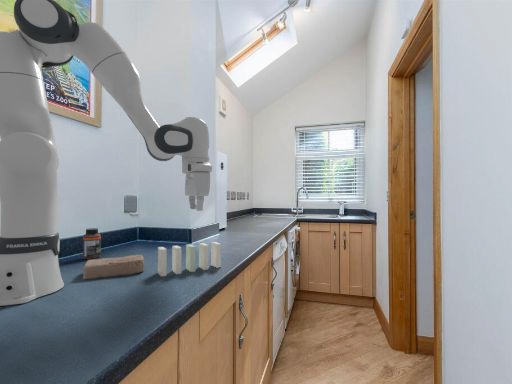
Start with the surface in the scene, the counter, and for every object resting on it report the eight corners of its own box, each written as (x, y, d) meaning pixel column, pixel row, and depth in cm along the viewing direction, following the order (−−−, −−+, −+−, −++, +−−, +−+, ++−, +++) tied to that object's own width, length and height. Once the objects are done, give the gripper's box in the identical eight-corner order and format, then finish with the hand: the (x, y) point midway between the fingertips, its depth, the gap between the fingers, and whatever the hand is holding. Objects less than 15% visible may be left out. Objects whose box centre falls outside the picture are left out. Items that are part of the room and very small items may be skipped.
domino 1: (161, 276, 81) (161, 249, 82) (157, 272, 85) (157, 247, 85) (166, 275, 82) (166, 249, 82) (162, 272, 86) (163, 246, 86)
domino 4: (216, 268, 91) (216, 244, 91) (211, 265, 95) (211, 242, 95) (221, 267, 92) (221, 243, 92) (215, 264, 96) (215, 241, 96)
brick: (82, 280, 78) (82, 264, 78) (86, 273, 86) (86, 258, 86) (144, 274, 85) (144, 259, 86) (142, 267, 93) (143, 253, 93)
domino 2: (176, 274, 84) (176, 248, 84) (172, 270, 88) (172, 245, 88) (181, 273, 85) (181, 247, 85) (177, 270, 89) (177, 245, 89)
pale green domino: (190, 272, 86) (190, 246, 86) (185, 268, 90) (186, 244, 90) (195, 271, 87) (195, 246, 87) (190, 268, 91) (190, 244, 91)
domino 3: (203, 270, 89) (204, 245, 89) (198, 266, 93) (199, 243, 93) (208, 269, 89) (208, 245, 90) (203, 266, 93) (203, 242, 93)
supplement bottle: (86, 256, 107) (86, 227, 107) (103, 256, 108) (103, 227, 109) (79, 260, 101) (80, 229, 101) (97, 259, 103) (97, 229, 103)
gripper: (180, 170, 98) (180, 208, 98) (192, 164, 79) (192, 212, 79) (198, 170, 101) (198, 208, 101) (213, 165, 82) (213, 211, 82)
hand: (195, 209), depth 90 cm, fingers open, 8 cm apart
